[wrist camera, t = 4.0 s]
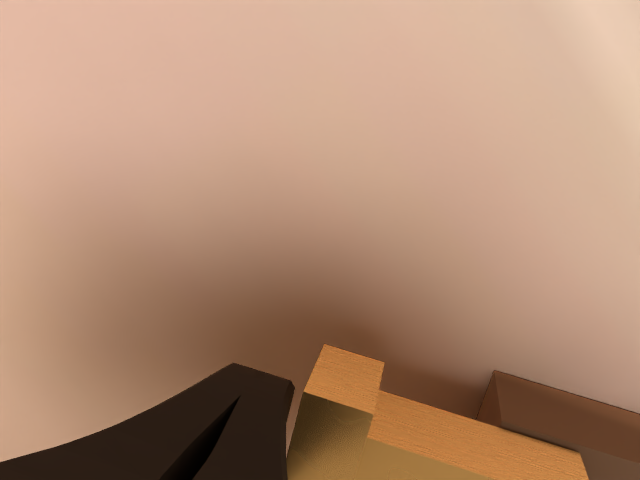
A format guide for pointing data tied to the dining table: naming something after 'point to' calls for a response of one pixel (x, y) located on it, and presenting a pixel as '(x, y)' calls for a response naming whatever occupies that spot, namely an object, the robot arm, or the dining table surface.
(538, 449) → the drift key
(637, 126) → the dining table surface
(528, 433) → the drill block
